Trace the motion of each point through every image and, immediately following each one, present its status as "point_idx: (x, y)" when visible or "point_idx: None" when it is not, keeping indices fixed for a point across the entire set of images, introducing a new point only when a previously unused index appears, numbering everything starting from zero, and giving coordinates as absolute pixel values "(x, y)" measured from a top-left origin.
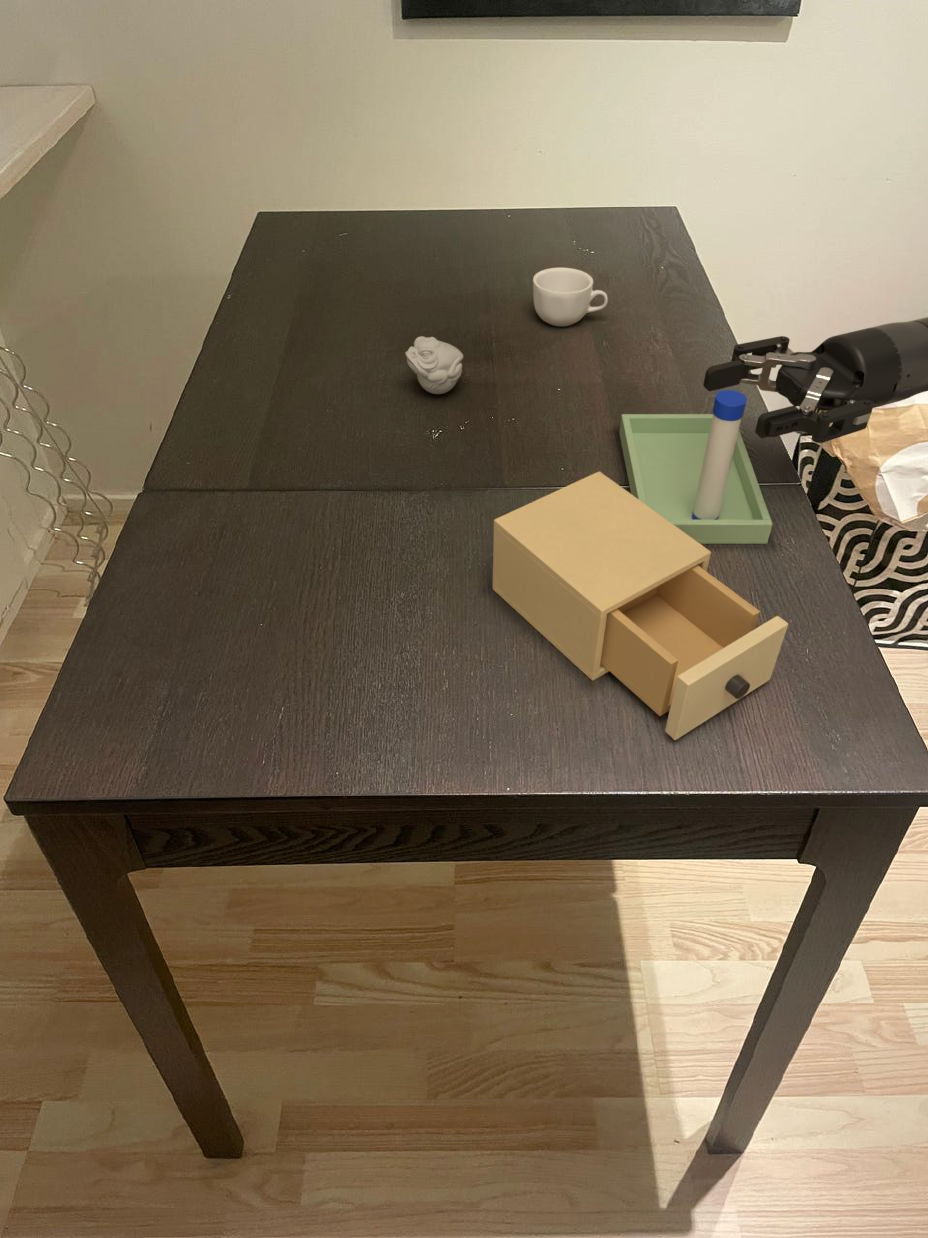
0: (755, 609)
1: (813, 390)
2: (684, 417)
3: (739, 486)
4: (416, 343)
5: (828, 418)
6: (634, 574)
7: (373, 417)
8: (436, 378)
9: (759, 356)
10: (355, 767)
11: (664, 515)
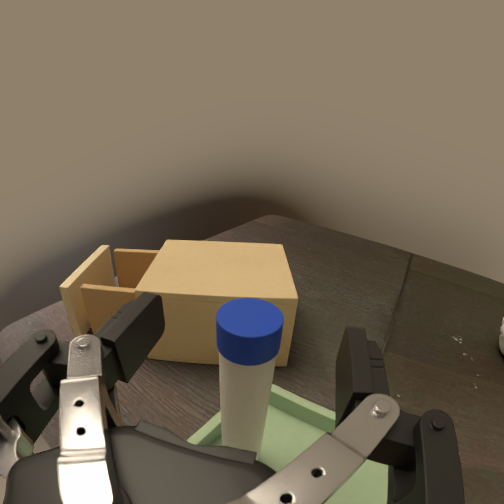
0: (83, 286)
1: (84, 382)
2: None
3: None
4: None
5: (35, 335)
6: (170, 256)
7: (473, 319)
8: (501, 329)
9: (370, 445)
10: (215, 241)
11: (274, 430)
